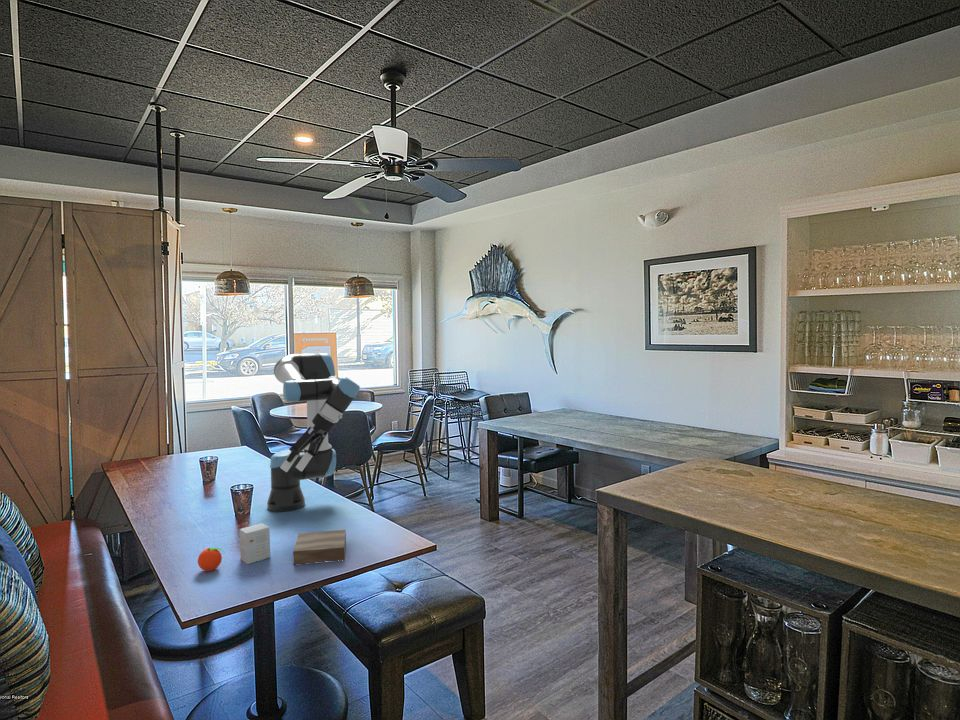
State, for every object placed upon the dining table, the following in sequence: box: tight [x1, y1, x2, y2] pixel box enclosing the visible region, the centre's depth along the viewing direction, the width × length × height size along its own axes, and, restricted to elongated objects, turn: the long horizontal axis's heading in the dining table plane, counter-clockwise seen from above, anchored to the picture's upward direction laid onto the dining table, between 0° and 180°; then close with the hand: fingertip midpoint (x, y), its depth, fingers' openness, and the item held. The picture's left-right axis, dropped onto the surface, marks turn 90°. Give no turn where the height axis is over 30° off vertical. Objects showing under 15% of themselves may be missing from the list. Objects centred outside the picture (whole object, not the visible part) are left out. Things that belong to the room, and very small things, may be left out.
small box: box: [238, 522, 271, 565], centre depth 190 cm, size 8×6×10 cm
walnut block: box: [292, 529, 347, 566], centre depth 194 cm, size 16×16×5 cm
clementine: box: [197, 547, 226, 572], centre depth 181 cm, size 8×7×7 cm
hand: (291, 469), depth 197 cm, fingers open, 13 cm apart
